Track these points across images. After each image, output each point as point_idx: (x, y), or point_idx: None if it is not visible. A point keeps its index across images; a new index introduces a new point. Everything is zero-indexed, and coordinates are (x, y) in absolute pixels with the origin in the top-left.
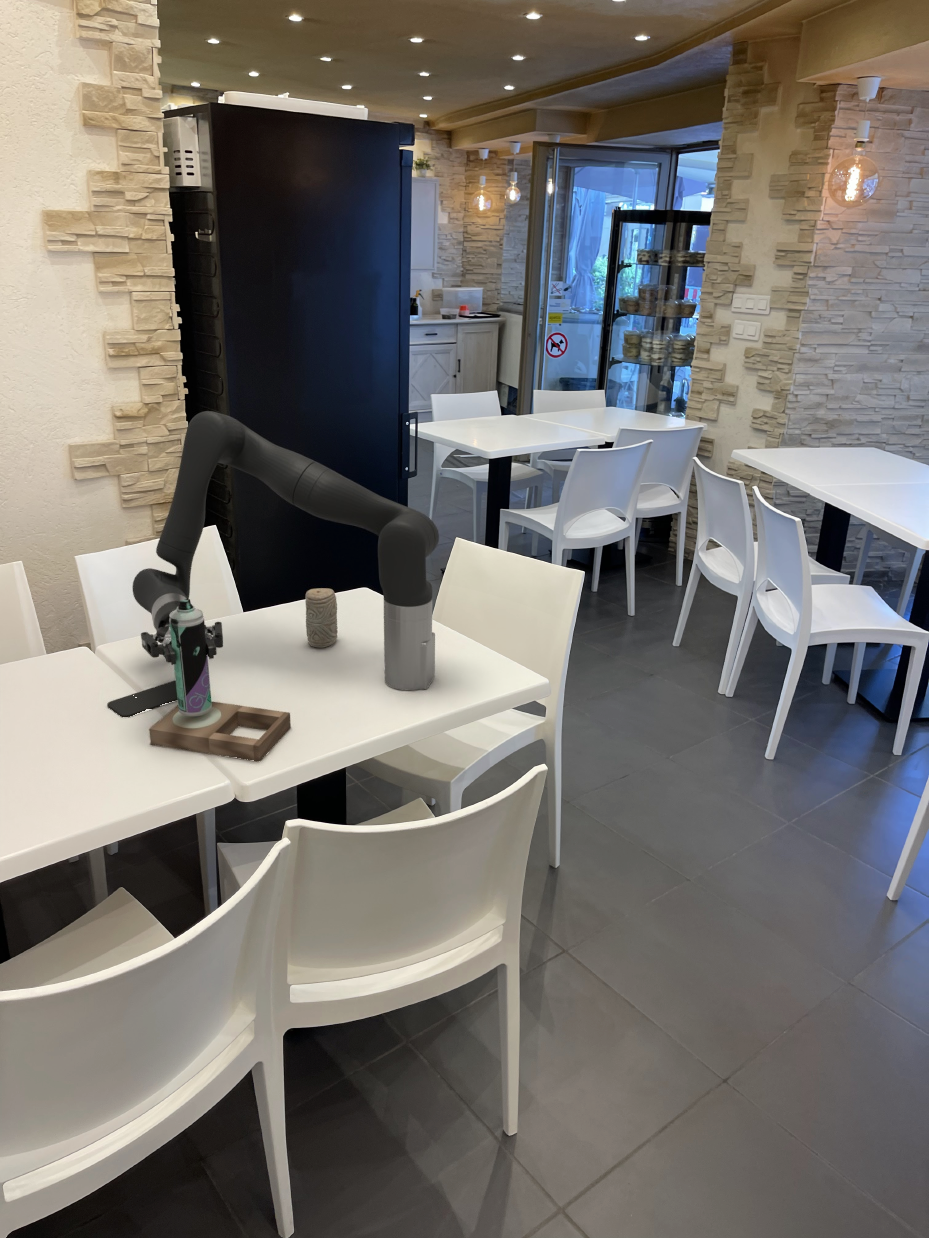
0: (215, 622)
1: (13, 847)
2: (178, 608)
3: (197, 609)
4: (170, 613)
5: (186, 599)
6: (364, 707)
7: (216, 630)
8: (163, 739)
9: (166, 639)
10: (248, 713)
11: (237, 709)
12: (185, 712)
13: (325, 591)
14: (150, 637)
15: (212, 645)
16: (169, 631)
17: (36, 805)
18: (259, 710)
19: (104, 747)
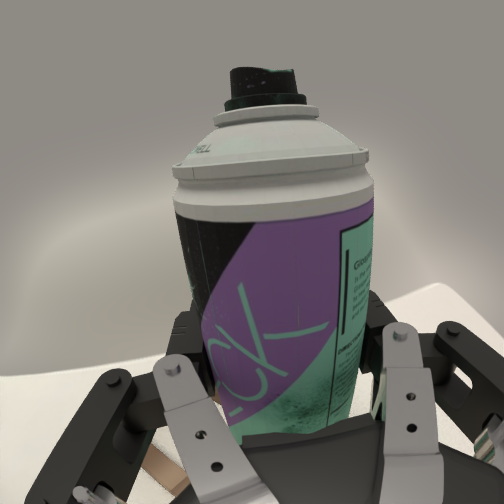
0: None
1: (447, 286)
2: (310, 117)
3: (198, 144)
4: (365, 148)
5: (249, 68)
6: (11, 433)
7: (100, 419)
8: None
9: (410, 363)
10: (169, 459)
11: (186, 479)
12: None
13: None
14: (500, 379)
15: (185, 325)
16: (422, 417)
17: (468, 326)
18: (145, 457)
19: (461, 441)
